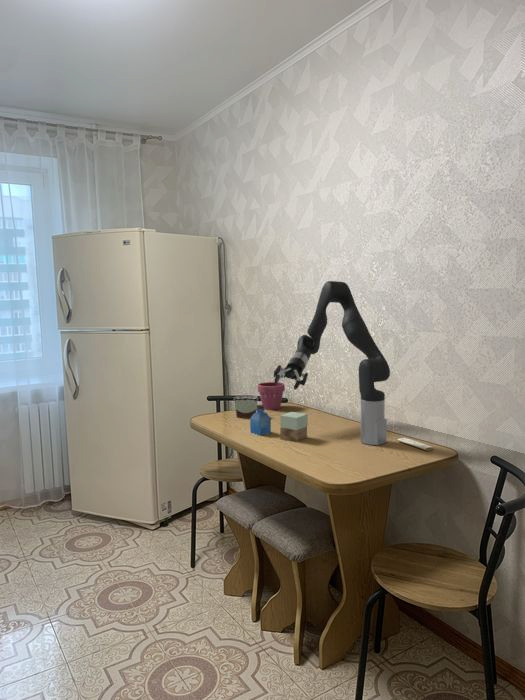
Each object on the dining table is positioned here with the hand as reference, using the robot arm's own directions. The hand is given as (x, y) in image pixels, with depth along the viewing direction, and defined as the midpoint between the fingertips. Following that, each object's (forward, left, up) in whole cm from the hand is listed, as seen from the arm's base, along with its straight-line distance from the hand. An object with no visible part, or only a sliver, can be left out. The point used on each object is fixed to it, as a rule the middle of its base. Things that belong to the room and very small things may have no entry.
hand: (285, 385), depth 219 cm
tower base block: (-9, +4, -21) cm, 23 cm away
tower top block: (-9, +4, -16) cm, 19 cm away
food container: (+35, -8, -21) cm, 41 cm away
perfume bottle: (+7, +8, -21) cm, 23 cm away
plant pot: (+40, -29, -21) cm, 53 cm away
